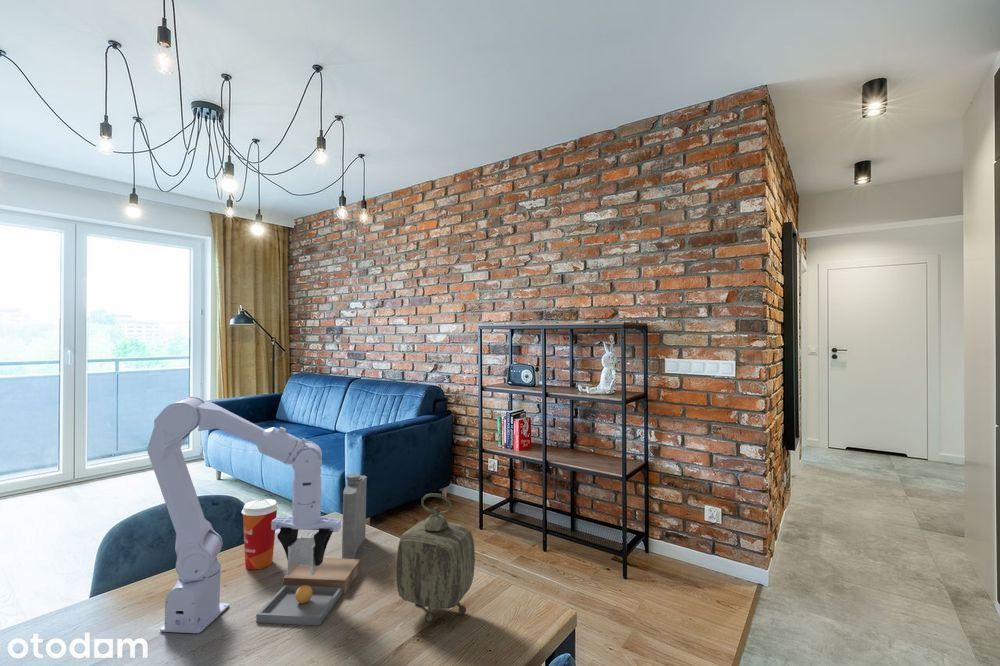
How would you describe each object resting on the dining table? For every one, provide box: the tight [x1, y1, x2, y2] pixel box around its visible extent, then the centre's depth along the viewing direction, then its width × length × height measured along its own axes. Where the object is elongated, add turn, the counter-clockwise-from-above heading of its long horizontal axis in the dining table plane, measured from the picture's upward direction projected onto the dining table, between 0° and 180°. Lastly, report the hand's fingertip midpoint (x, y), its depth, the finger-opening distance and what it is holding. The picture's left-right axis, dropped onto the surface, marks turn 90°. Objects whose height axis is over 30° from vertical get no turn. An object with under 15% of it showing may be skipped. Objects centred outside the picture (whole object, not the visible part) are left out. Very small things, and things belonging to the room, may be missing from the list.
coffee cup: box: [241, 498, 279, 571], centre depth 117 cm, size 8×8×15 cm
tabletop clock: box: [396, 492, 476, 623], centre depth 97 cm, size 14×9×25 cm, turn 70°
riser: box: [282, 557, 361, 595], centre depth 110 cm, size 10×14×3 cm
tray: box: [255, 585, 343, 626], centre depth 99 cm, size 11×13×2 cm
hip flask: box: [341, 473, 368, 559], centre depth 127 cm, size 16×4×20 cm, turn 4°
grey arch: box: [287, 536, 323, 576], centre depth 102 cm, size 5×5×6 cm
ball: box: [295, 585, 312, 603], centre depth 101 cm, size 3×3×3 cm
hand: (305, 562), depth 102 cm, fingers closed on grey arch, 5 cm apart
